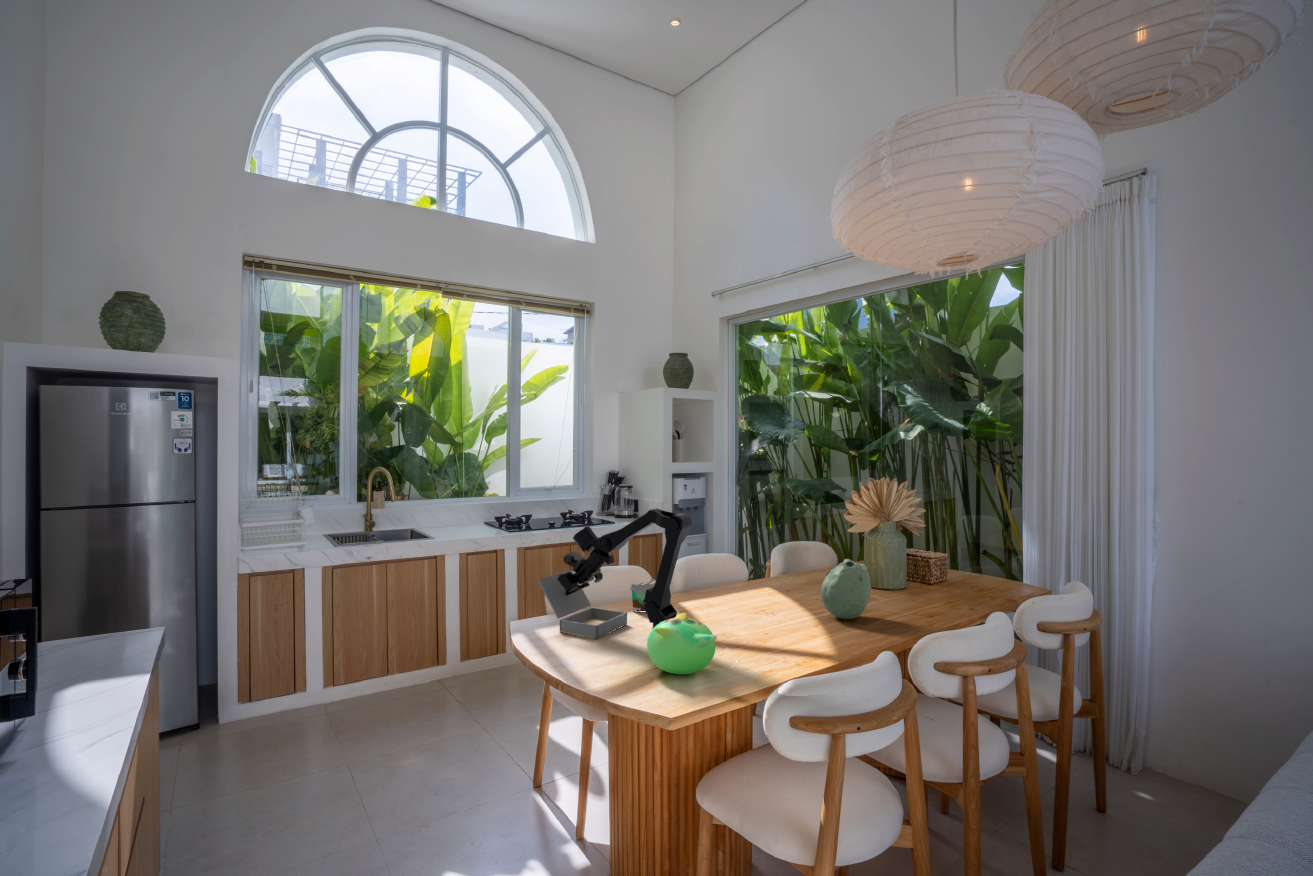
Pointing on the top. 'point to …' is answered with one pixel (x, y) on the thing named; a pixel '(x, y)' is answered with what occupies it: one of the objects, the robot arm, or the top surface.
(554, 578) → the mailer lid
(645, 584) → the food container
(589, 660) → the top surface
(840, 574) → the green avocado
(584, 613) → the box
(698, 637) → the toy bird
